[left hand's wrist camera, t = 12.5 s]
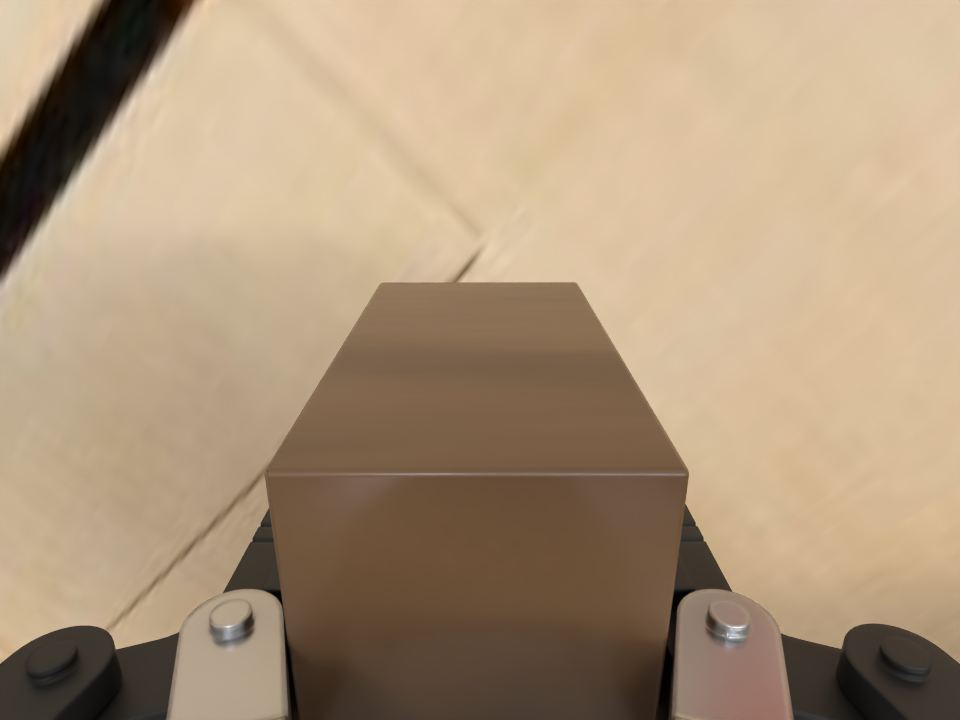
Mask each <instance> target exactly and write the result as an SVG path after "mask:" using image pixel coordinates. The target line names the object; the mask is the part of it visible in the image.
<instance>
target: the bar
mask: <svg viewBox="0 0 960 720" xmlns="http://www.w3.org/2000/svg"><path fill="white" fill-rule="evenodd" d="M688 477H689V472H688V469H687V467H686V466H685V464H684V462H683V461H682V459H681V457H680V456H679V454H678V452H677V451H676V449H675V447H674V445H673V444H672V442H671V440H670V439H669V437H668V435H667V434H666V432H665V430H664V429H663V427H662V425H661V424H660V422H659V420H658V419H657V417H656V415H655V414H654V412H653V410H652V409H651V407H650V405H649V403H648V402H647V400H646V398H645V397H644V395H643V393H642V392H641V390H640V388H639V387H638V385H637V383H636V382H635V380H634V378H633V377H632V375H631V373H630V372H629V370H628V368H627V367H626V365H625V363H624V362H623V360H622V358H621V356H620V355H619V353H618V351H617V350H616V348H615V346H614V345H613V343H612V341H611V340H610V338H609V336H608V335H607V333H606V331H605V330H604V328H603V326H602V325H601V323H600V321H599V320H598V318H597V316H596V314H595V313H594V311H593V309H592V308H591V306H590V304H589V303H588V301H587V299H586V298H585V296H584V294H583V293H582V291H581V289H580V288H579V286H578V284H577V283H381V284H380V285H379V287H378V288H377V290H376V292H375V293H374V295H373V297H372V298H371V300H370V301H369V303H368V305H367V306H366V308H365V310H364V311H363V313H362V314H361V316H360V318H359V319H358V321H357V323H356V324H355V326H354V327H353V329H352V331H351V332H350V334H349V336H348V337H347V339H346V340H345V342H344V344H343V345H342V347H341V349H340V350H339V352H338V353H337V355H336V357H335V358H334V360H333V362H332V363H331V365H330V366H329V368H328V370H327V371H326V373H325V375H324V376H323V378H322V379H321V381H320V383H319V384H318V386H317V388H316V389H315V391H314V392H313V394H312V396H311V397H310V399H309V401H308V402H307V404H306V405H305V407H304V409H303V410H302V412H301V414H300V415H299V417H298V419H297V420H296V422H295V423H294V425H293V427H292V428H291V430H290V432H289V433H288V435H287V436H286V438H285V440H284V441H283V443H282V445H281V446H280V448H279V449H278V451H277V453H276V454H275V456H274V458H273V459H272V461H271V462H270V464H269V466H268V467H267V469H266V472H265V480H266V487H267V494H268V502H269V509H270V516H271V523H272V530H273V538H274V545H275V552H276V559H277V567H278V574H279V581H280V588H281V596H282V603H283V610H284V617H285V624H286V632H287V639H288V646H289V653H290V661H291V668H292V675H293V682H294V690H295V697H296V704H297V711H298V718H299V720H657V715H658V707H659V700H660V692H661V684H662V677H663V669H664V661H665V654H666V646H667V638H668V631H669V623H670V615H671V608H672V600H673V592H674V585H675V577H676V569H677V562H678V554H679V546H680V539H681V531H682V523H683V516H684V508H685V500H686V493H687V485H688Z"/></svg>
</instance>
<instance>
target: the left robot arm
mask: <svg viewBox="0 0 960 720" xmlns="http://www.w3.org/2000/svg"><path fill="white" fill-rule="evenodd" d="M0 720H299V718H298V711H297V704H296V697H295V690H294V682H293V675H292V668H291V661H290V653H289V646H288V639H287V632H286V624H285V617H284V610H283V603H282V596H281V588H280V581H279V574H278V567H277V559H276V552H275V545H274V538H273V530H272V523H271V516H270V509H268V511H267V513H266V515H265V517H264V518H263V520H262V522H261V527H259V528H258V529H257V531H256V533H255V535H254V537H253V541H252V542H250V544H249V546H248V548H247V550H246V552H245V553H244V555H243V557H242V559H241V561H240V563H239V565H238V566H237V568H236V570H235V572H234V574H233V576H232V577H231V579H230V581H229V583H228V585H227V587H226V588H225V590H224V592H223V594H220V595H218V596H215V597H213V598H211V599H209V600H207V601H206V602H204V603H203V604H201V605H200V606H198V607H197V608H196V609H195V610H194V611H193V612H192V613H191V614H190V615H189V616H188V617H187V618H186V620H185V621H184V623H183V625H182V627H181V629H180V632H179V633H177V634H174V635H171V636H169V637H166V638H162V639H159V640H155V641H151V642H147V643H142V644H138V645H134V646H130V647H126V648H121V649H117V650H116V649H115V645H114V641H113V639H112V636H111V635H110V634H109V633H108V632H107V631H105V630H104V629H101V628H99V627H94V626H74V627H68V628H64V629H60V630H57V631H53V632H51V633H48V634H46V635H43V636H41V637H39V638H37V639H35V640H33V641H31V642H29V643H28V644H26V645H25V646H23V647H21V648H20V649H19V650H17V651H16V652H15V653H13V654H12V655H11V656H10V657H8V658H7V659H6V660H5V661H3V662H2V663H1V664H0ZM657 720H960V664H959V663H958V662H957V661H955V660H954V659H953V658H952V657H950V656H949V655H948V654H947V653H946V652H944V651H943V650H942V649H940V648H939V647H938V646H936V645H935V644H933V643H931V642H930V641H928V640H926V639H925V638H923V637H921V636H919V635H917V634H914V633H912V632H909V631H907V630H904V629H901V628H898V627H894V626H889V625H884V624H864V625H859V626H857V627H854V628H853V629H851V630H849V632H848V633H847V634H846V636H845V639H844V642H843V646H842V649H838V648H834V647H830V646H825V645H821V644H817V643H813V642H809V641H804V640H800V639H796V638H793V637H789V636H786V635H784V634H781V633H780V629H779V627H778V625H777V623H776V621H775V620H774V618H773V617H772V616H771V615H770V614H769V613H768V612H767V611H766V610H765V609H764V608H763V607H762V606H760V605H759V604H757V603H756V602H754V601H753V600H751V599H749V598H747V597H745V596H742V595H740V594H737V593H734V592H732V590H731V588H730V587H729V585H728V583H727V581H726V579H725V577H724V575H723V573H722V572H721V570H720V568H719V566H718V564H717V562H716V560H715V558H714V557H713V555H712V553H711V551H710V549H709V547H708V545H707V543H706V542H704V540H703V536H702V534H701V532H700V530H699V528H698V527H697V526H696V525H695V521H694V519H693V517H692V515H691V513H690V512H689V510H688V508H687V506H686V504H685V508H684V516H683V523H682V531H681V539H680V546H679V554H678V562H677V569H676V577H675V585H674V592H673V600H672V608H671V615H670V623H669V631H668V638H667V646H666V654H665V661H664V669H663V677H662V684H661V692H660V700H659V707H658V715H657Z"/></svg>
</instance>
